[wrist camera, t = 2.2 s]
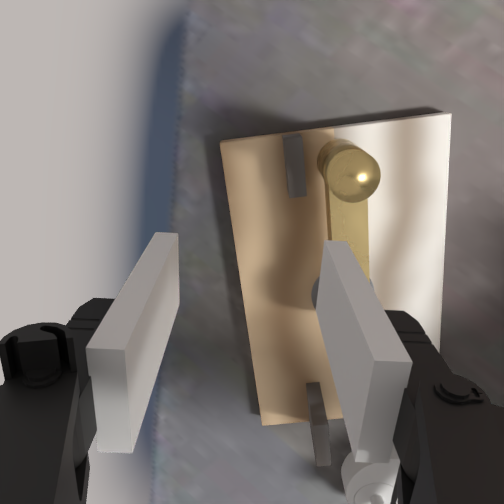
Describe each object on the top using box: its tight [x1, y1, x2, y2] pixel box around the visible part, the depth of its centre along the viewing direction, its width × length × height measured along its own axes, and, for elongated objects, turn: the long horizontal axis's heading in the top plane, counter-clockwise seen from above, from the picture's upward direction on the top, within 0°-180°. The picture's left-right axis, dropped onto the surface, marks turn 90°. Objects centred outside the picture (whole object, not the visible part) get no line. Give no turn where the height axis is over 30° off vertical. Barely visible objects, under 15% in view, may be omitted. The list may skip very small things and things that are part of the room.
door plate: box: [220, 112, 451, 467], centre depth 33 cm, size 16×26×6 cm, turn 7°
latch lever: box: [317, 138, 381, 283], centre depth 30 cm, size 15×4×5 cm, turn 7°
